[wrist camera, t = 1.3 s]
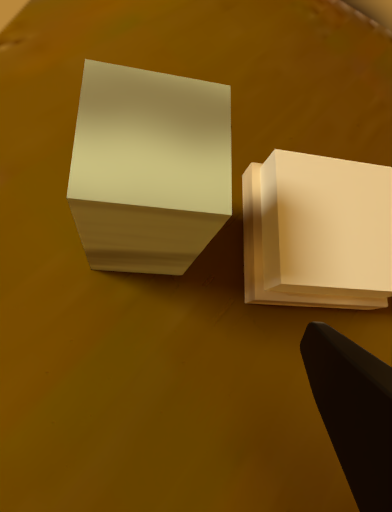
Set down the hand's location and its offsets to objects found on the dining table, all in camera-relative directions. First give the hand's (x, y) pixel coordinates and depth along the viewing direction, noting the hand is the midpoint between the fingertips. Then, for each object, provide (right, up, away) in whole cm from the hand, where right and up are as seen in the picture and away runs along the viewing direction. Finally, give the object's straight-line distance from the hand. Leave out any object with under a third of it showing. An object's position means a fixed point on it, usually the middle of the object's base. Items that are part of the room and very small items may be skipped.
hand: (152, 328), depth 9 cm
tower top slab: (+10, +4, +15) cm, 19 cm away
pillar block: (-3, +4, +14) cm, 15 cm away
